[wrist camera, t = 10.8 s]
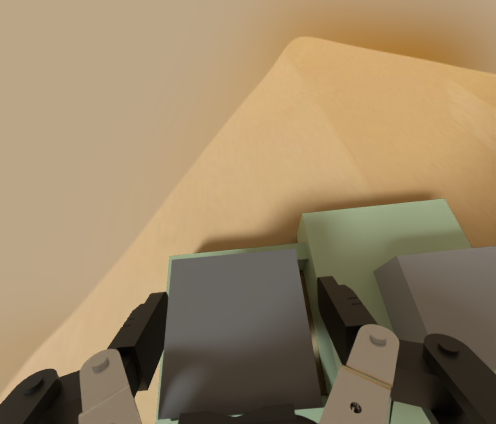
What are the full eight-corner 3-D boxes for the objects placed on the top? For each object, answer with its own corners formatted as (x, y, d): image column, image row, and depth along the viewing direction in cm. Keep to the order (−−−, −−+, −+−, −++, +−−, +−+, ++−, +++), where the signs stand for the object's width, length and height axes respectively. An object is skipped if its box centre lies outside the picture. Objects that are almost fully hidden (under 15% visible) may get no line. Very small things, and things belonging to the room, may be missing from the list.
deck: (413, 223, 20) (477, 171, 14) (517, 445, 13) (728, 531, 7) (183, 247, 21) (147, 206, 14) (171, 474, 14) (95, 579, 8)
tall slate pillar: (281, 293, 18) (295, 248, 9) (291, 371, 16) (322, 407, 7) (217, 298, 18) (171, 259, 10) (217, 377, 16) (157, 419, 7)
